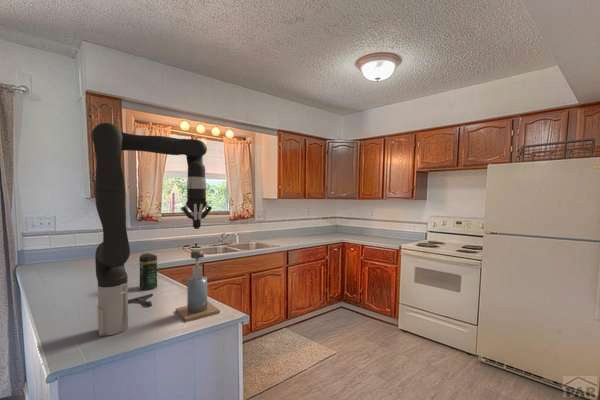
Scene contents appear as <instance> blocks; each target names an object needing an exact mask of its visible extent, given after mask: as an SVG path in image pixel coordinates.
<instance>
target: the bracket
mask: <svg viewBox="0 0 600 400" xmlns="http://www.w3.org/2000/svg"><path fill="white" fill-rule="evenodd" d="M153 296H154V295H153V293H149V294H146V295H141V296H138V297H133V298H131V299H128V305H129V304H140V305H143V306H146V307H148V308H150V307H152V305H153V304H152V301H151V300H150V301H147V300H148V299H150V298H153Z"/></svg>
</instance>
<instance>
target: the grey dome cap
mask: <svg viewBox="0 0 600 400" xmlns="http://www.w3.org/2000/svg"><path fill="white" fill-rule="evenodd" d="M204 255H205V254H204V250H192V251H190V258H191V259H195V267H196V268H199V266H200V261H199V260H200V259H201V258H204Z"/></svg>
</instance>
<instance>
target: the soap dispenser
mask: <svg viewBox="0 0 600 400" xmlns="http://www.w3.org/2000/svg"><path fill="white" fill-rule="evenodd" d="M186 283H187V285H186V288H187V290H186V291H187V292H186V293H187V297H186V298H187V300H186V301H187V302H186V303H187V305H184V306H179V307H175V312H176V313H177V314H178V316H180V318H181V319H183V321H184V322H185V323H188V322H191V321H195V320H200V319H203V318H205V317H206V318H207V317H210V316H213V315H214V316H215V315H218V314H220V313H221V310H220V309H219V308H217V307H216V306H215V305H214V304H212V303H211V302H210V301H208V277H207V276H203V266H200V265H199V268H196V266H192V277H188V278H187V280H186Z"/></svg>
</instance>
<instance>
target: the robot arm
mask: <svg viewBox="0 0 600 400" xmlns="http://www.w3.org/2000/svg"><path fill="white" fill-rule="evenodd" d="M91 138H92V139H91V140H92V142H93V148H94V153H95V163H96V165H95V176H94V197H95V198H94V201H95V208H96V211H97V214H98V218H99V220H100V223H101V228H102V240H103V241H102V242H100V244H98V246H96V247H97V248H96V250H95V254H94V255H95V257H94V258H95V259H94V260H95V261H94V262H95V276H96V280H97V306H96V307H97V309H96V310H97V333H98V337H104V336H113V335H117V334H119V333H122V332H124V331H126V330H127V329H128V328H129V304H128V300H129V299H128V298H129V297H128V296H129V295H128V294H129V290H128V287H129V285H128V284H129V283H128V273H127V272H126V268H125V264H126V263H127V261H128V260H129V258H130V256H131V255H130V254H131V248H130V242H129V238H128V231H127V209H126V206H127V204H126V203H127V201H126V198H127V197H126V186H125V178H124V174H123V173H124V172H123V169H122V151H129V152H130V151H131V152H132V151H134V152H136V151H137V152H144V153H145V152H146V153H152V154H153V153H154V154H159V155H161V154H162V155H170V156H181V155H183V156H186V157H185V158H186V162H187V181H186V200H187V201H186V203H185V205H184V206H181V207H180V210H181V212H183V213H184V215H185V216H186V217H187V218H188V219H189V220H192V228H193V229H194V230H198V229H199V230H200V228H201V220H202V219H205V218H206V217H207V215H208V214H209V213H210V212H211V210H212V209H213V207H212V206H210V205H209V204H208V203H207V200H206V199H207V193H206V192H207V182H206V166H205V165H204V163H203V162H204V161H203V160H204V159H203V157H204V156H205V155H206V153H207V152H208V147H207V145H206V144H205V142H204V141H202V140H200V139H196V138H195V139H194V138H179V137H178V138H177V137H171V136H165V135H146V134H145V135H140V134H134V133H133V134H131V133H127V132H123V131H121V130H120V129H119V128H118V127H117V126H116V125H114V124H113V123H109V122H101V123H99V124H97V125H96V126H94V128H93V129H92V131H91ZM203 210H204V211H203Z"/></svg>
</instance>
